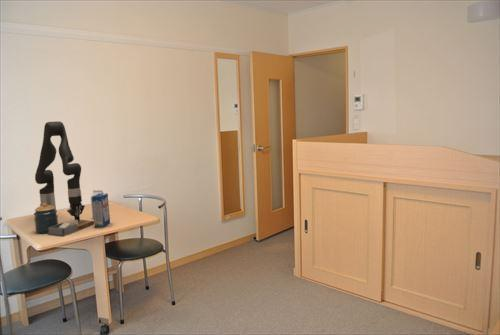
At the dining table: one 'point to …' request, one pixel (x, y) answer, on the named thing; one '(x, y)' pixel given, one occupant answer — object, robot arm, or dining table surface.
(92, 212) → the milk carton
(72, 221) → the tile
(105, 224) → the milk carton
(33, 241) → the dining table surface
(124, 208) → the dining table surface
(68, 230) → the tray
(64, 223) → the tile
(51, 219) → the canister
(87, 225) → the board
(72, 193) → the robot arm
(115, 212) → the dining table surface
